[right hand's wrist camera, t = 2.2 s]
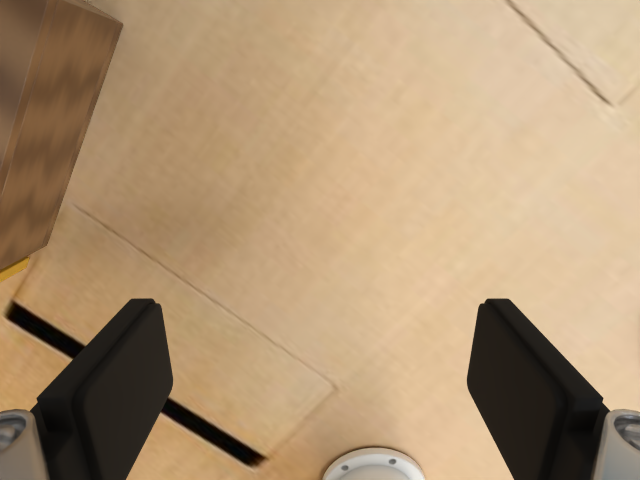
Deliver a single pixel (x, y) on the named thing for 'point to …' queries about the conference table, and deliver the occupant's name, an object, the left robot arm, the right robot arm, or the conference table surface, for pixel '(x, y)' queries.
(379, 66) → the conference table surface
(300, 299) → the conference table surface
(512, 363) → the right robot arm
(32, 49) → the cabinet
